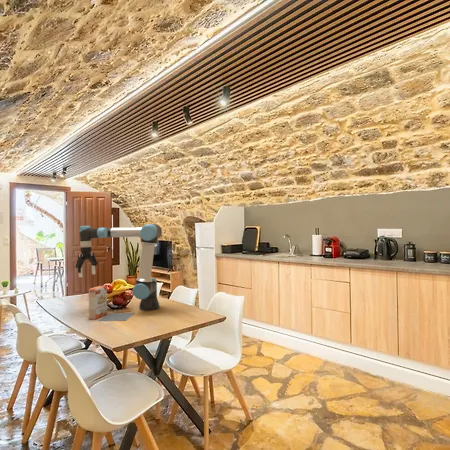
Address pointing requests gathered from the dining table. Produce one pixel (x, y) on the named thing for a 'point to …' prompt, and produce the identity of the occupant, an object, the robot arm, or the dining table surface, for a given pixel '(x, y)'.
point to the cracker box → (97, 302)
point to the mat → (116, 317)
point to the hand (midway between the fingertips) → (87, 275)
